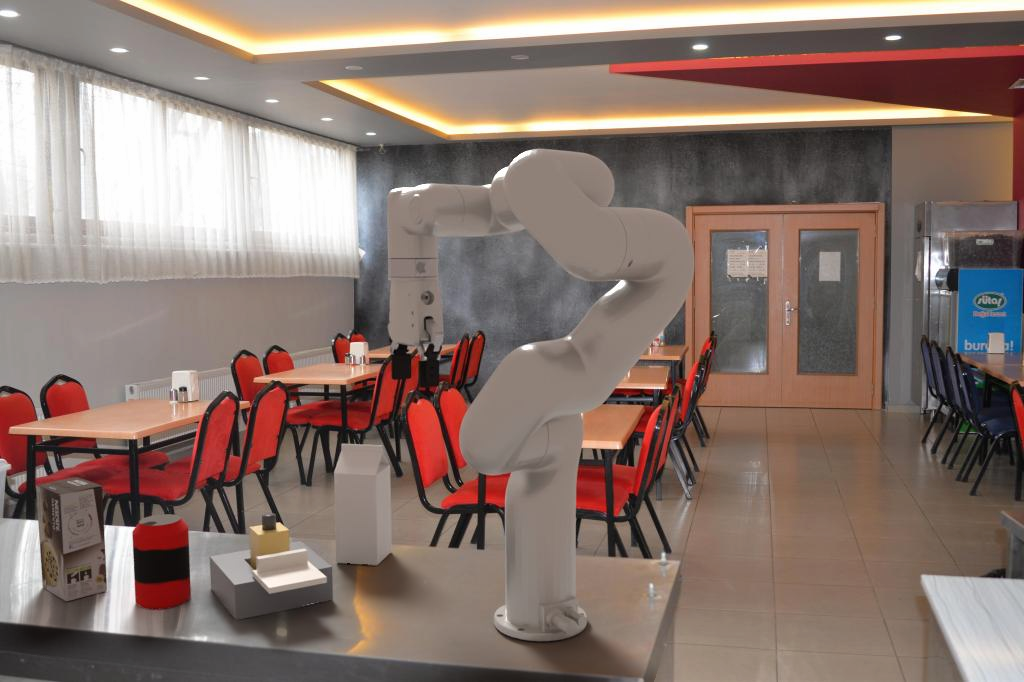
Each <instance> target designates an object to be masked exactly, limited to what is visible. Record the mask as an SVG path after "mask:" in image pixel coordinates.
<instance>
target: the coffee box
mask: <svg viewBox="0 0 1024 682" xmlns="http://www.w3.org/2000/svg"><path fill="white" fill-rule="evenodd" d="M35 487H36V488H35V490H36V504H37V521H38V524H37V525H38V537H39V538H38V539H39V550H40V551H39V552H40V566H41V567H40V568H41V579H42V580H41V582H42V588H43V589H44V590H46V591H48V592H50V593H51V594H53V595H54V596H57V597H58V598H59V599H60V600H63V601H65V602H70V601H73V600H78V599H82V598H85V597H88V596H93V595H97V594H101V593H105V592H107V590H108V584H107V582H108V580H107V559H106V556H107V555H106V542H105V540H106V539H105V536H106V535H105V516H104V497H103V494H104V493H103V488H104V487H103V485H101V484H98V483H96V482H93V481H89V480H87V479H84V478H81V477H79V476H75V477H74V476H73V477H68V478H64V479H58V480H54V481H50V482H46V483H40V484H36V485H35Z"/></svg>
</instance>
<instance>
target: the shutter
mask: <svg viewBox="0 0 1024 682" xmlns="http://www.w3.org/2000/svg"><path fill="white" fill-rule="evenodd" d="M256 568H257V570H252V576H253V577H254V578H255V579H256V580H257V581H258V582H259V583H260V585H261V586H262V587H263V588H264V589H265V590H266V591H267V592H268V593H269V594H271V593H276V592H281V591H286V590H292V589H297V588H302V587H307V586H312V585H317V584H322V583H327V577H326V576H325V575H324V574H323V573H321V572H320V571H319V570H318V569H317V568H316V567H314V566H313V565H312V564H311V563H310V562H309V561H308V555H307V550H306V549H305V548H304V549H298V550H292V551H287V552H281V553H275V554H269V555H264V556H258V557H256Z"/></svg>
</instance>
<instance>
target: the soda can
mask: <svg viewBox="0 0 1024 682" xmlns="http://www.w3.org/2000/svg"><path fill="white" fill-rule="evenodd" d="M131 533H132V534H131V535H132V553H133V555H132V556H133V557H132V558H133V573H134V574H133V577H134V597H135V598H134V599H135V603H136V605H137V606H139V607H140V608H142V609H144V610H164V609H171V608H175V607H179V606H181V605H182V604H184V603H185V602H187V601H189V599H190V597H191V595H192V593H191V592H192V587H191V564H190V563H191V562H190V541H189V538H190V535H189V525H188V524H187V523H186V521H184V519H182V517H181V516H180V515H178V514H171V513H169V514H166V513H165V514H154V515H150V516H146V517H144V518H141V519H140V520H139V521H138V523H137V524H136V526H135V528H134V529H132V532H131Z"/></svg>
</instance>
